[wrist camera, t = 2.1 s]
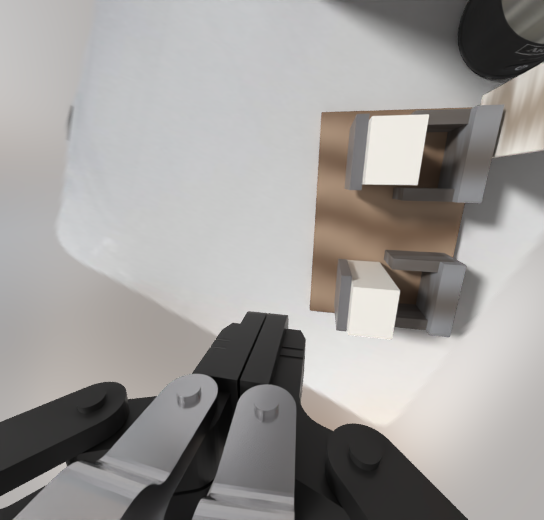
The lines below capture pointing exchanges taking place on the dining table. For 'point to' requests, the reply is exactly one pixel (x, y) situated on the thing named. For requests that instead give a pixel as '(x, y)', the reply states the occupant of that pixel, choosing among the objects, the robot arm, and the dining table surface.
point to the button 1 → (365, 299)
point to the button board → (419, 200)
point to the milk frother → (502, 36)
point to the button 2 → (385, 150)
